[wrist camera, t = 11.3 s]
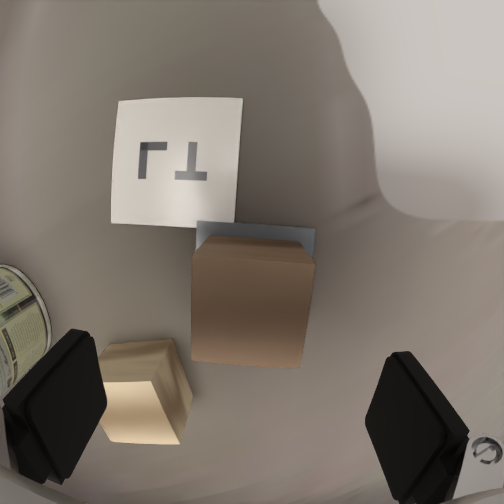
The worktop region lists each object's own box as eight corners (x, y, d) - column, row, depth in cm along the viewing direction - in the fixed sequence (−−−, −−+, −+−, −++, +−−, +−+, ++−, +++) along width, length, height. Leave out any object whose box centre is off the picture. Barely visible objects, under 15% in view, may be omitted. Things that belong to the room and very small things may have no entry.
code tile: (121, 102, 19) (118, 101, 19) (243, 99, 19) (242, 98, 19) (113, 222, 21) (110, 223, 21) (234, 229, 21) (233, 230, 21)
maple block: (109, 343, 24) (77, 382, 18) (173, 337, 23) (150, 381, 17) (133, 398, 25) (111, 441, 19) (193, 396, 24) (180, 444, 19)
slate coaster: (198, 219, 21) (196, 220, 21) (314, 228, 21) (316, 229, 21) (195, 326, 23) (194, 328, 22) (301, 333, 23) (302, 336, 22)
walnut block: (210, 234, 21) (192, 254, 15) (299, 241, 21) (315, 264, 15) (207, 316, 22) (191, 360, 16) (289, 323, 22) (299, 368, 16)
